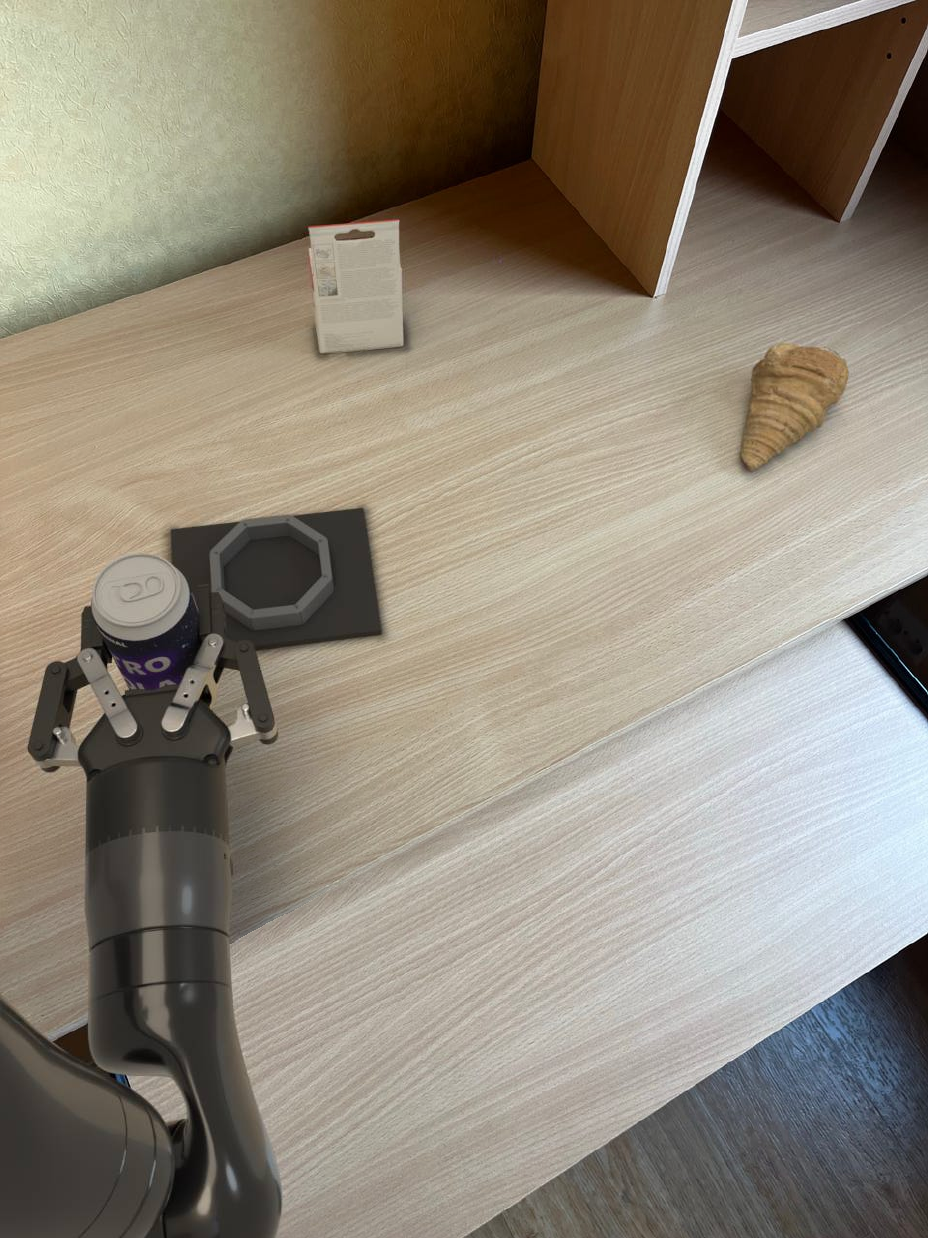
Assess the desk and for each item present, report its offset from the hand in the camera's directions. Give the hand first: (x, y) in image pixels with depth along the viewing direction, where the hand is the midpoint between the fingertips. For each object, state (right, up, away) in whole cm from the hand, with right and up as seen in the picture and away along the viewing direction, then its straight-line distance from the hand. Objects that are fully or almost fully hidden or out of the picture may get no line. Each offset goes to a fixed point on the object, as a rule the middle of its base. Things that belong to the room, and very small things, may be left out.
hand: (153, 597), depth 65 cm
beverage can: (0, -6, +5) cm, 8 cm away
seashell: (+48, +17, +32) cm, 60 cm away
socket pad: (+4, +2, +21) cm, 21 cm away
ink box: (+9, +25, +35) cm, 44 cm away
